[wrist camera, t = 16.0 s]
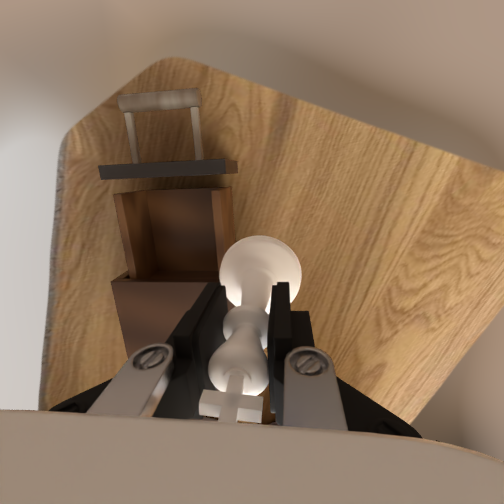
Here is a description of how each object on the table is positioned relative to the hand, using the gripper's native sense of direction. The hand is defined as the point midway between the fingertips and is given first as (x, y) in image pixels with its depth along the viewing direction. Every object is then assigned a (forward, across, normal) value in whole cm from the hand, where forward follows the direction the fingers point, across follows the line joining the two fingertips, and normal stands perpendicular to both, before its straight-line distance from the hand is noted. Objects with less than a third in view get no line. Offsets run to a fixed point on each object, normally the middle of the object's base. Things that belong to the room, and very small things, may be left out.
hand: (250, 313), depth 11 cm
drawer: (+18, +9, -4) cm, 20 cm away
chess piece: (+5, 0, 0) cm, 5 cm away
